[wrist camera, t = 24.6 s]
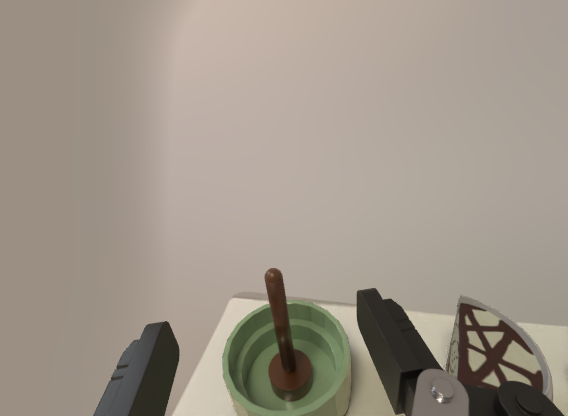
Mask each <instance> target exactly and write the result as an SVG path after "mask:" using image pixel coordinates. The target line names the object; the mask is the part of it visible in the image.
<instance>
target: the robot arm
mask: <svg viewBox="0 0 568 416" xmlns="http://www.w3.org/2000/svg"><path fill="white" fill-rule="evenodd" d="M357 322H358V326H359V329H360V332H361V334H362V337H363V339H364V341H365V344H366V346H367V348H368V351H369V353H370V356H371V358H372V360H373V363H374V365H375V367H376V370H377V372H378V374H379V377H380V379H381V381H382V384H383V386H384V389H385V391H386V393H387V396H388V398H389V400H390V403H391V405H392V407H393V410H394V412H395V414H396V415H397V414H403V413H405V415H406V416H564V415H563V414H562V413H561V412H560V410H559V409H558V408H557V407H556V406H555V405H554V404H553V402H552V401H551V400H550V399H549V398H548V397H547V396H545V395H544V394H543V393H542V392H540V391H539V390H537V389H536V388H534V387H532V386H530V385H528V384H526V383H523V382H519V381H505V382H503V383H502V384H501V385H500V386H499V388H498V390H496V389H489V388H483V387H477V386H471V385H467V384H464V383H462V382H459V381H458V380H457V379H456V378H455V377H454V376H452V375H451V374H449V373H447V372H445V371H444V370H443V369H442V368H441V367H440V365H439V364H438V362H437V361H436V359H435V358H434V356H433V355H432V353H431V351H430V350H429V348H428V347H427V345H426V344H425V342H424V341H423V339H422V338H421V336H420V335H419V333H418V332H417V330H415V327H414V325H413V324H412V322H411V321H410V320H409V318H408V316H407V315H406V313H405V312H404V310H403V309H402V307H401V306H400V305H398V304H397V303H396V302H394V301H393V300H392V299H385V300H383V299H382V298H381V296H380V294H379V293H378V291H377V289H376V288H371V289H365V290H359V291H357ZM178 362H179V346H178V343H177V341H176V338H175V336H174V334H173V332H172V329H171V327H170V324H169V323H168V322H167V321H165V322H159V323H153V324H148V325H146V327H145V328H144V331H143V333H142V335H141V338H140V339H139V340H134V341H133V342H132V343H131V344H130V346H129V347H128V348H127V349H126V350H125V351H124V353H123V354H122V356H121V358H120V360H119V363H118V365H117V369H115V371H114V373H113V375H112V377H111V381H110V382H109V383H108V386H107V388H106V390H105V392H104V394H103V396H102V398H101V400H100V402H99V404H98V407H97V409H96V411H95V413H94V415H93V416H164V415H165V411H166V407H167V404H168V400H169V396H170V392H171V388H172V385H173V381H174V377H175V373H176V370H177V366H178Z"/></svg>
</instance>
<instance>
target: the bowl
mask: <svg viewBox="0 0 568 416" xmlns="http://www.w3.org/2000/svg"><path fill="white" fill-rule="evenodd" d="M286 302H287V308H288V315H289V321H290V327H291V333H292V340H293V346H294V349H297V350H300V351H302V352H303V353H305V354H306V355H307V357H308V358H309V360H310V362H311V367H312V376H313V382H312V386H311V389H310V391H309V392H308V394H307V395H306V396H305V397H303V398H302V399H300V400H298V401H294V402H288V401H284V400H282V399H280V398H278V397H277V396H276V395H275V393H274V392H273V390H272V387H271V383H270V379H269V374H268V368H269V364H270V362H271V360H272V358H273V357H274V356H275V355H276V354H277V353H278V352H279V349H278V344H277V339H276V334H275V329H274V323H273V318H272V313H271V308H270V304H266V305H264V306H262V307H260V308H258V309H256V310H255V311H253V312H251V313H249V314H248V315H247V316H246V317H245V318H244V319H243V320H242V321H241V322H239V323H238V324H237V326H236V327H235V329H234V330H233V332H232V333H231V335H230V336H229V338H228V340H227V343H226V346H225V350H224V353H223V356H222V365H223V378H224V381H225V383H226V386H227V389H228V392H229V395H230V398H231V400H232V403H233V406H234V409H235V411H236V414H237V416H344V415H345V413H346V411H347V409H348V405H349V399H350V394H351V355H350V348H349V342H348V337H347V335H346V333H345V331H344V329H343V328H342V326H341V324H340V322H339V321H338V320H337V319H336V318H335V317H334V316H333V315H331V314H330V313H329V312H328V311H327V310H325V309H323V308H321V307H319V306H317V305H315V304H313V303H309V302H305V301H300V300H286Z"/></svg>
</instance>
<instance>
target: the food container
mask: <svg viewBox="0 0 568 416" xmlns="http://www.w3.org/2000/svg"><path fill="white" fill-rule="evenodd" d="M457 307H458V308H457V313H456V318H455V323H454V328H453V333H452V338H451V343H450V348H449V354H448V359H447V364H446V371H445V372H447V373H449V374H451V375H452V376H454V377H455V378H456V379H457V380H458V381H459V382H462V383H464V384H467V385H471V386H477V387H483V388H489V389H496V390H498V388H499V386H500V385H501V384H502V383H503V382H505V381H519V382H523V383H526V384H528V385H530V386H532V387H534V388H536V389H537V390H539V391H540V392H542V393H543V394H544V395H545V396H547V397H548V398H549V399H550V400H551V401H552V402H553V384H552V376H551V373H550V371H549V368H548V365H547V362H546V360H545V357H544V356H543V354H542V352H541V350H540V348H539V347H538V346H537V344H536V343H535V342H534V340H533V339H532V338H531V337H530V336H529V335H528V334H527V333H526V332H525V331H524V330H523V329H522V328H521V327H520V326H519V325H518V324H517V323H515V322H514V321H513V320H512V319H510V318H509V317H507V316H506V315H504V314H503V313H501V312H500V311H498V310H496V309H495V308H492V307H491V306H489V305H487V304H485V303H483V302H480V301H478V300H475V299H472V298H469V297H466V296H463V295H460V298H459V301H458V305H457Z"/></svg>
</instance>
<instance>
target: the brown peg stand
mask: <svg viewBox="0 0 568 416" xmlns="http://www.w3.org/2000/svg"><path fill="white" fill-rule="evenodd" d="M265 282H266V287H267V293H268V298H269V303H270V308H271V313H272V318H273V323H274V329H275V334H276V339H277V344H278V349H279V352H278V353H277V354H276V355H275V356H274V357H273V358H272V360H271V362H270V364H269V368H268V374H269V379H270V383H271V387H272V390H273V392H274V393H275V395H276V396H277V397H278V398H280V399H282V400H284V401H288V402H294V401H298V400H300V399H302V398H303V397H305V396H306V395H307V394H308V392H309V391H310V389H311V386H312V382H313V376H312V367H311V362H310V360H309V358H308V357H307V355H306V354H305V353H303V352H302V351H300V350H297V349H294V346H293V340H292V333H291V327H290V321H289V315H288V308H287V302H286V296H285V289H284V283H283V277H282V273H281V271H279V270H278V269H276V268H271V269H269V270H268V271H267V272H266V273H265Z"/></svg>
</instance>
